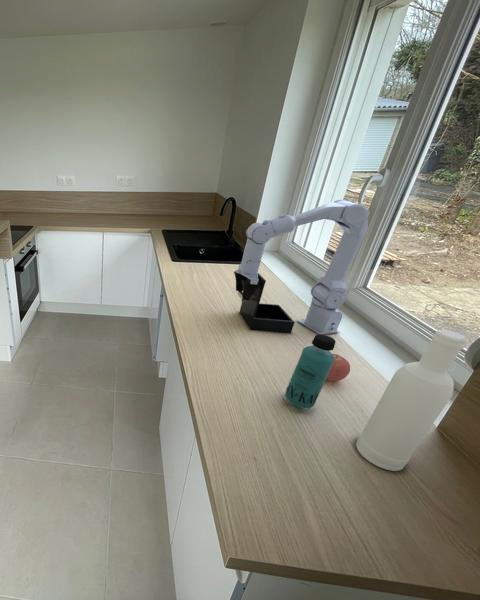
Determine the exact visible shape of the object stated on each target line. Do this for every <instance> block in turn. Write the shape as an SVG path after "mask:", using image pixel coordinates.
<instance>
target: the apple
mask: <svg viewBox="0 0 480 600" xmlns="http://www.w3.org/2000/svg"><path fill="white" fill-rule="evenodd" d="M332 354H333V356H334V358H335V361H334V362H333V364H332V367H331V369H330V371H329V373H328V375H327V378H326V381H330V382H340V381H342V380H344V379H346V378H347V377H348V375H349V374H350V372H351V364H350V362H349V360H347V359H346V358H345V357H343V356H342V355H340V354H336V353H332Z"/></svg>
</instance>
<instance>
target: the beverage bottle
mask: <svg viewBox="0 0 480 600" xmlns="http://www.w3.org/2000/svg"><path fill="white" fill-rule="evenodd" d="M311 344H312V345H308V346H305V347H304V348H303V349H302V352H301V354H300V357H299V359H298V361H297V364H296V365H295V368H294V370H293V372H292V374H291V377H290V380H289V382H288V384H287V387H286V390H285V393H284V394H285V399H286V400H287V401H288V402H289V403H290V404H292V405H293V406H296V407H297V408H300V409H306V410H307V409H308V410H309V409H312V408H313V407H315V405H316V403H317V401H318V398H319V397H320V395H321V392H322V390H323V388H324V386H325V382H326V381H327V379H326V378H327V375H328V373H329V371H330V369H331V367H332V364H333V362H334V361H335V358H334V356H333V354H334V353H332V352H331V351H333V350H334V349H335V345H336V340H335V338H333V337H332V336H330V335H327V334H318V333H316V334H315V336H314V337H313V339H312V341H311Z"/></svg>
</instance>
